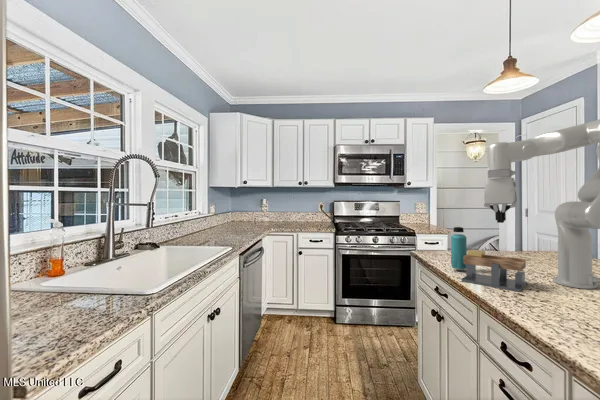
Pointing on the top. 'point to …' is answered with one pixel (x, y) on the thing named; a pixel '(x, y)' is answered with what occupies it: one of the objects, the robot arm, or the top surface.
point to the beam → (503, 261)
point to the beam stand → (495, 278)
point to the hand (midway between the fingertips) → (500, 222)
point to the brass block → (476, 253)
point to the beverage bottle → (458, 249)
